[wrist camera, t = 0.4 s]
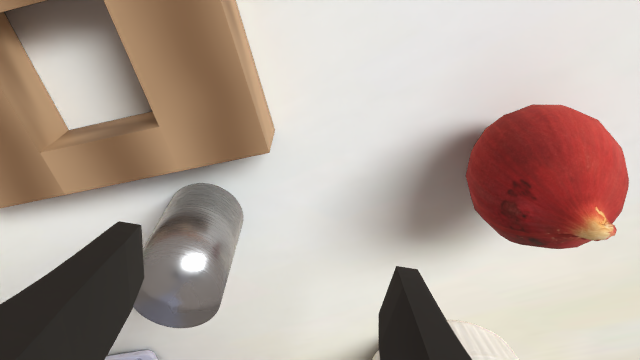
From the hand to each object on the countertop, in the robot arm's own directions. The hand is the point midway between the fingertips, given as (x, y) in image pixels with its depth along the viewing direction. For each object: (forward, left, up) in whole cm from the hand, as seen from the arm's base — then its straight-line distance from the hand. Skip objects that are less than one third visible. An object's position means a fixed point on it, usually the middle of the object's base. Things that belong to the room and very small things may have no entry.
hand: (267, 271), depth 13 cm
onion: (+10, -3, -10) cm, 15 cm away
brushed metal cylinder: (-6, -4, -10) cm, 12 cm away
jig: (-8, +5, -10) cm, 14 cm away
